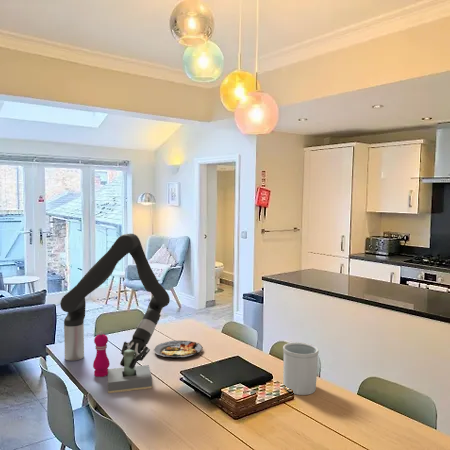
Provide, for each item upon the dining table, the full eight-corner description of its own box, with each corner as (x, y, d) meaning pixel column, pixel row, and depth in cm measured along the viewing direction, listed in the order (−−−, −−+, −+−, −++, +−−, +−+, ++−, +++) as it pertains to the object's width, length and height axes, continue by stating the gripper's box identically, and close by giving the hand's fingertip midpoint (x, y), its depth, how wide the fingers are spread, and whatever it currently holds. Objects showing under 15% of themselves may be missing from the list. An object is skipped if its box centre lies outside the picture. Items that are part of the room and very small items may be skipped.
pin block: (107, 379, 186) (107, 369, 186) (148, 374, 191) (148, 364, 191) (108, 393, 173) (107, 382, 172) (152, 388, 178) (152, 377, 177)
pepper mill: (104, 378, 187) (104, 334, 186) (90, 376, 188) (89, 333, 187) (112, 371, 194) (112, 329, 193) (98, 370, 195) (97, 328, 194)
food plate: (205, 344, 231) (205, 338, 230) (199, 361, 207) (198, 354, 207) (160, 344, 233) (160, 337, 232) (149, 360, 209) (149, 353, 209)
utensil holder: (295, 377, 190) (296, 339, 188) (324, 388, 179) (325, 348, 178) (275, 387, 179) (275, 347, 178) (304, 399, 169) (305, 357, 168)
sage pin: (123, 376, 183) (123, 350, 183) (134, 375, 185) (134, 349, 184) (124, 381, 179) (124, 353, 178) (134, 379, 180) (134, 352, 180)
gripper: (128, 324, 190) (109, 359, 181) (153, 329, 183) (134, 366, 174) (136, 333, 195) (118, 367, 186) (160, 338, 188) (143, 374, 179)
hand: (126, 366), depth 180 cm, fingers closed on sage pin, 4 cm apart
